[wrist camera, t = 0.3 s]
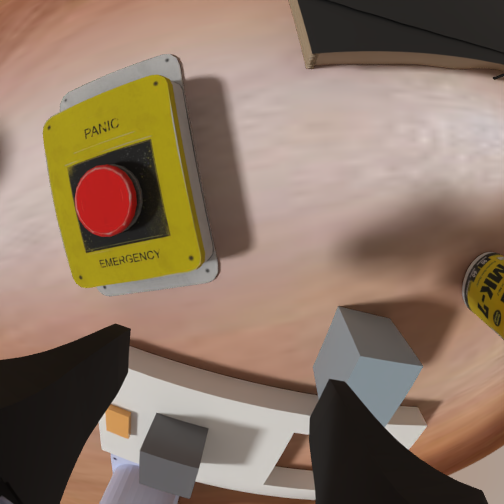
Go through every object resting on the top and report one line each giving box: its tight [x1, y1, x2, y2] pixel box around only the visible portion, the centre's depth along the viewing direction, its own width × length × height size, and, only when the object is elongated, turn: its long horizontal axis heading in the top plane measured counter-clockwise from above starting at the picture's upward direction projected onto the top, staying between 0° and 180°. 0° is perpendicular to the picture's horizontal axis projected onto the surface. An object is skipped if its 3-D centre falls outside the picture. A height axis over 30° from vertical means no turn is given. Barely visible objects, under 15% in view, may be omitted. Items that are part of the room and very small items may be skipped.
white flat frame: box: [99, 346, 427, 500], centre depth 22 cm, size 12×26×3 cm, turn 75°
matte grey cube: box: [139, 413, 209, 499], centre depth 19 cm, size 5×4×4 cm
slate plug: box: [313, 306, 423, 427], centre depth 18 cm, size 5×4×6 cm
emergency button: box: [43, 54, 218, 296], centre depth 17 cm, size 9×4×15 cm
